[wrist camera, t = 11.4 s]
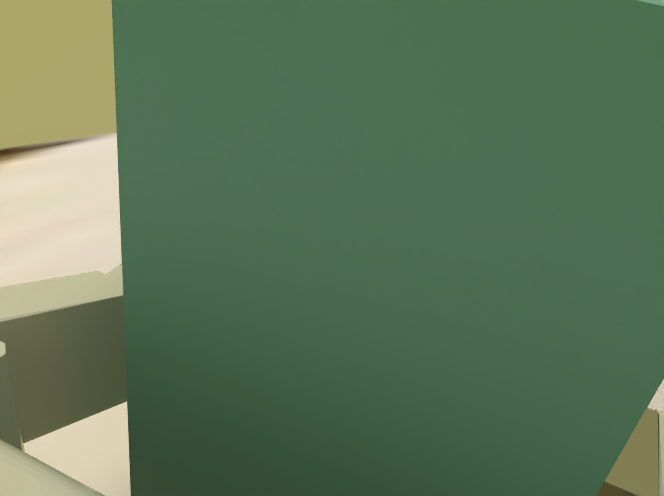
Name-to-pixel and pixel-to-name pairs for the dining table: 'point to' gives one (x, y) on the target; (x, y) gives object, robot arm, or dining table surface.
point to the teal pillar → (388, 243)
